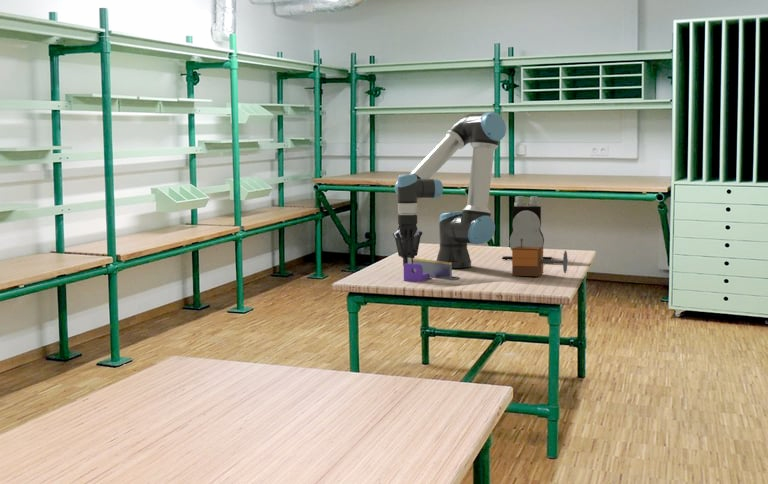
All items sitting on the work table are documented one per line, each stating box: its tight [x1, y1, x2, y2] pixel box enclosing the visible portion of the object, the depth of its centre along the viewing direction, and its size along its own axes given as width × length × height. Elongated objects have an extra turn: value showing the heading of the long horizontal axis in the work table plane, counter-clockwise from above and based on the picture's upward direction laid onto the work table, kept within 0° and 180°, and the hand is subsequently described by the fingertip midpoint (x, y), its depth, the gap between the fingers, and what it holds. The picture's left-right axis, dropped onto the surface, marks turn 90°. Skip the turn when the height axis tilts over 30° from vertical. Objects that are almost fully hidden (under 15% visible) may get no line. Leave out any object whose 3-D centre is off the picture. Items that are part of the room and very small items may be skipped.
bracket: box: [403, 264, 431, 283], centre depth 331 cm, size 12×7×7 cm, turn 161°
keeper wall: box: [413, 257, 461, 281], centre depth 339 cm, size 5×24×7 cm, turn 36°
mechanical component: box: [501, 195, 553, 260], centre depth 390 cm, size 22×21×30 cm
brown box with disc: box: [511, 239, 569, 277], centre depth 342 cm, size 11×20×14 cm, turn 67°
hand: (408, 274), depth 335 cm, fingers closed
